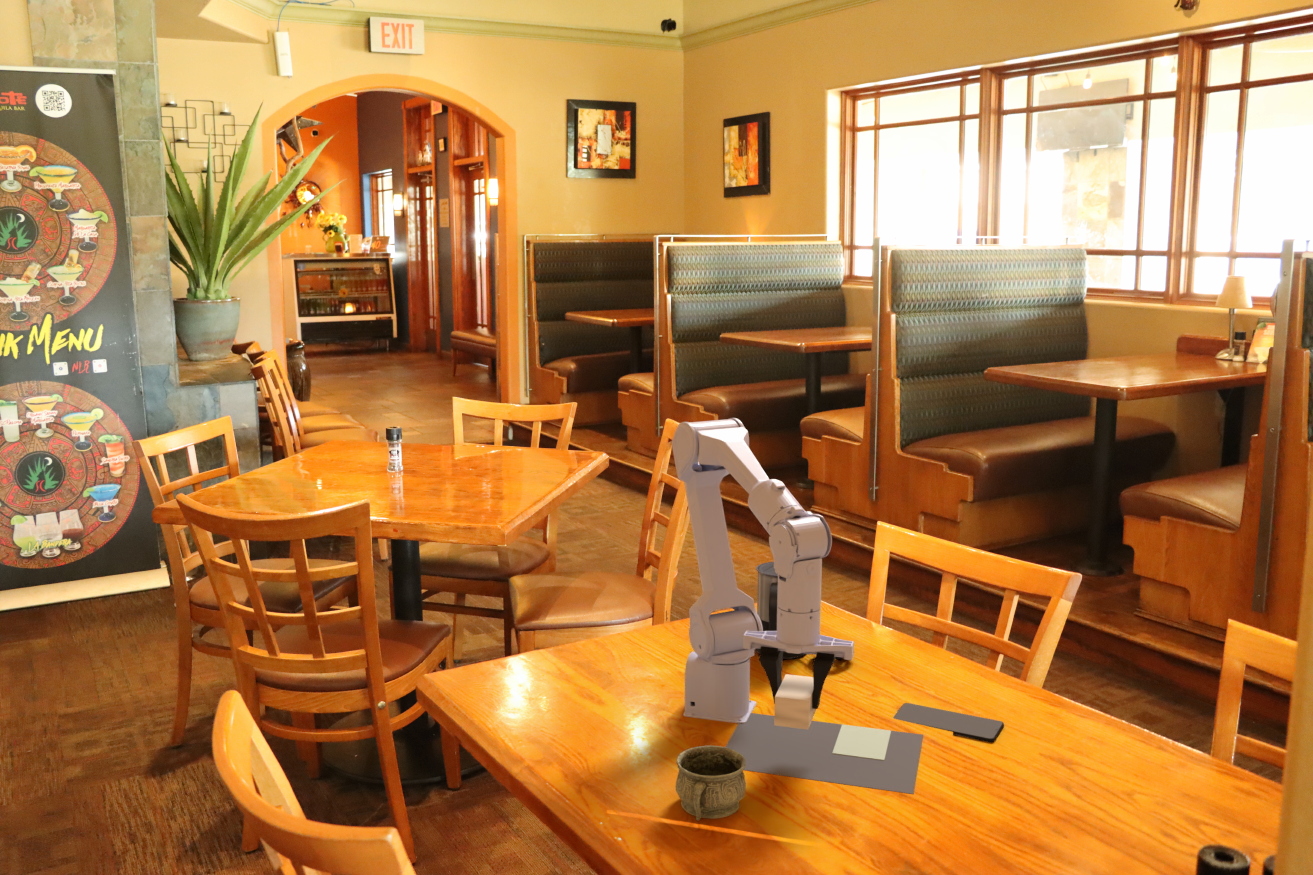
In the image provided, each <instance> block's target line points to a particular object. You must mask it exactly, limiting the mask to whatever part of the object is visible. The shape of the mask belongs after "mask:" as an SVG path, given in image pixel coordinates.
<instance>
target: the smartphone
mask: <svg viewBox="0 0 1313 875" xmlns="http://www.w3.org/2000/svg"><path fill="white" fill-rule="evenodd" d="M893 719H895V720H898V721H902V722H907V723H910V724H911V723H912V724H916V725H920V726H926V727H930V728H932V729H933V728H934V729H938V730H941V731H942V730H943V731H948V732H951V733H952V735H954V736H957V737H958V736H959V737H961V738H962V737H963V738H968V739H973V740H975V741H980V742H981V741H982V742H985V743H990V744H991V743H995V742H996V740H997V739H998V737H999V736H1000V734H1001V732H1002V730H1003V728H1004V727H1005V724H1004V722H1003V721H1001V720H997V719H992V718H986V717H982V716H981V717H980V716H976V715H971V714H967V713H966V714H965V713H960V712H956V711H950V710H945V709H940V708H936V707H935V708H934V707H929V706H925V705H920V704H914V703H910V702H904V703H903V704H902V705H901V706H900V707H899V708H898V710H896V713H895V714H894V715H893Z"/></svg>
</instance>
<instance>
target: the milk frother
mask: <svg viewBox="0 0 1313 875" xmlns="http://www.w3.org/2000/svg"><path fill="white" fill-rule="evenodd" d="M755 569H756V571H757V597H756V598H757V600H756V601H757V602H756V607H757V608H756V611H757V614H758V616H759V618H760V620H761V623H762V627H763V631H777V593H778V574H777V573H776V572H775V568H774V561H768V562H764V563H761V564H758V565H757V566H756V567H755ZM754 652H755V653H757V654H759V655H760V652H761V649H759V648H756V649H754ZM805 655H809V654H806V653H800V654H795V653H787V652H786V651H783V659H782V660H790V659H797V658H801V657H803V656H805ZM836 659H837V660H840V659H841V660H843V659H844V657H835V660H836ZM844 660H845V659H844Z"/></svg>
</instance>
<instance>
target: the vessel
mask: <svg viewBox="0 0 1313 875" xmlns="http://www.w3.org/2000/svg"><path fill="white" fill-rule="evenodd" d="M676 764H677V769H678V772H677V775H676V776H677V777H676V780H675V785H674V786H675V791H676V793H677V796H678V798H679V799H680V800H681V802H680V803H681V804H680V805H681V807H682V809H683V810H684V811H685V812H686V813H687V814H689V815H692V816H695V820H696V821H700V820H701V818H703V819H720V818H725V817H728V816H731V815H733V814H735V813H736V812H737V811H738V810H739V809H740V803H739V802H740V801H741V800H742V799H744V797H745V795H746V784H747V783H746V778H745V773H744V770H743V769H744V768H745V766H746V760H745V758H744V757H743V755H741V754H740V753H738V752H737V751H735V750H733V749H730V748H726V747H725V746H720V745H702V746H695V747H691V748H687V749H685V750H683V751H682V752H680V753H679V754H678V755H677V757H676Z"/></svg>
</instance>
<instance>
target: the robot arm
mask: <svg viewBox="0 0 1313 875" xmlns="http://www.w3.org/2000/svg"><path fill="white" fill-rule="evenodd" d="M749 435H750V434H749V431H748V429H746V427H745V426H744V424H743V422H742V421H741V420H740V419H739V418H736V417H730V418H728V419H714V420H704V421H703V420H702V421H693V422H691V421H690V422H689V421H682V422H680V423H679V424H678V425H677V427H676V429H675V431H674V435H673V438H672V440H671V448H672V454H673V459H674V465H675V471H676V475H677V479H678V480H680V481H682V482H683V484H684V490H685V493H686V494H685V495H686V500H687V501H686V502H687V507H688V511H689V512H688V513H689V518H690V519H689V520H690V524H691V529H692V535H693V536H692V537H693V541H694V548H695V552H696V559H697V564H698V570H699V571H698V572H699V577H700V581H701V588H702V594H701V595H700V596H699V597H698V598H697V600H696V601H695V602H694V603H693V604H692V605H691V606H690V608H689V609H688V614H689V630H688V636H689V637H688V638H689V642H690V645H691V648H692V650H693V651H691V652H690V653H689V654H688V656H687V659H686V663H685V671H684V712H683V713H682V714H683V716H684V717H686V718H687V717H688V718H695V719H702V720H709V721H718V722H723V723H724V722H725V723H732V724H733V723H734V724H738V723H742V724H744V723H746V722H747V720H748V718H749V716H750V714H751V713H753V711H754V709H755V707H756V706H757V701H755V700H750V691H751V690H750V685H751V683H750V681H751V680H750V676H751V674H750V673H751V672H750V671H751V657H754V656H755V649H756V648H759V649H761V652H760V654H759V655H758V659H759V663H760V666H762V668H763V671H764V673H765V675H766V678H767V680H768V682H769V685H770V686H769V687H770V689H771V693H772V698H773V704H774V705H775V695H776V693H777V691H778V689H779V687H780V685H781V683H782V681H783V677H782V676H783V675H782V674H783V673H782V671H783V660H784V659H783V651H786V652H787V653H795V654H800V653H806V654H808V655H815V657H814V659H813V662H812V675H813V684H814V687H813V697H812V709H816V710H817V709H819V706H820V705H821V704H820V702H821V697H822V696H821V694H822V691H823V688H824V684H825V681H826V679H827V677H828V674H829V673H830V670H831V669H832V667H833V664H834V662H835V660H836V658H835V657H844V660H847V661H852V660H853V659H854V654H855V650H854V649H855V641H854V640H845V639H840V638H836V637H833V636H826V635H823V634H821V613H822V612H821V609H822V607H821V606H822V576H823V575H822V571H823V569H822V568H823V567H822V566H823V559H824V558H826V557H827V556H829V554H830V552H831V549H832V545H833V537H832V531H831V528H830V526H829V524H828V522H827V520H826V518H825V517H824V516H823V515H821V514H819V513H813V512H812V511H811V510H809V511H808V510H807V511H806V510H805V509H804V508H803V506H802V505H801V504H800V503H799V501H798V500H797V499H796V498H795V497H794V494H792V493H791V492H790V489H788V488H787V487H786V485H785V483H784V482H783V481H781V480H779V479H776V478H771V479H770V478H769V476H768V475H767V473H766V472H765V470H764V469H763V467H762V466H761V463H760V462H759V460H758V459H757V457H756V456H755V455H754V452H752V450H751V448H750V437H749ZM728 475H731V477H732V478H733V479H734V480H735V481H736V482H737V483H738V484H739V485H740V486H741V487H742V488H743V489H744V490H745V492H746V493H747V494H748V497H747V506H748V508H749V510H750V511H751V512H752V514H753V515H754V516H755V518H756V519H757V520H758V522H759V524H760V525H762V527H763V529H764V530H765V531H766V532H767V533H768V535H769V537H768V543H769V549H770V552H771V554H772V558H773V562H774V568H775V572H776V573H777V574H778V593H777V631H763V627H762V623H761V620H760V618H759V616H758V614H757V608H756V606H755V602H754V601H755V600H754V598H753V597H751V596H750V595H748V594H746V593H745V592H744V591H743V590H741V589H740V588H738V585H737V579H736V578H737V577H736V573H735V567H734V562H733V557H732V556H733V555H732V551H731V546H730V540H729V534H728V528H727V522H726V516H725V511H724V506H723V499H722V495H721V488H720V485H721V483H722V481H723V479H724V478H725V477H727V476H728ZM725 609H732V610H729V611H724V612H718V613H713V612H716V611H718V610H725Z"/></svg>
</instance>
